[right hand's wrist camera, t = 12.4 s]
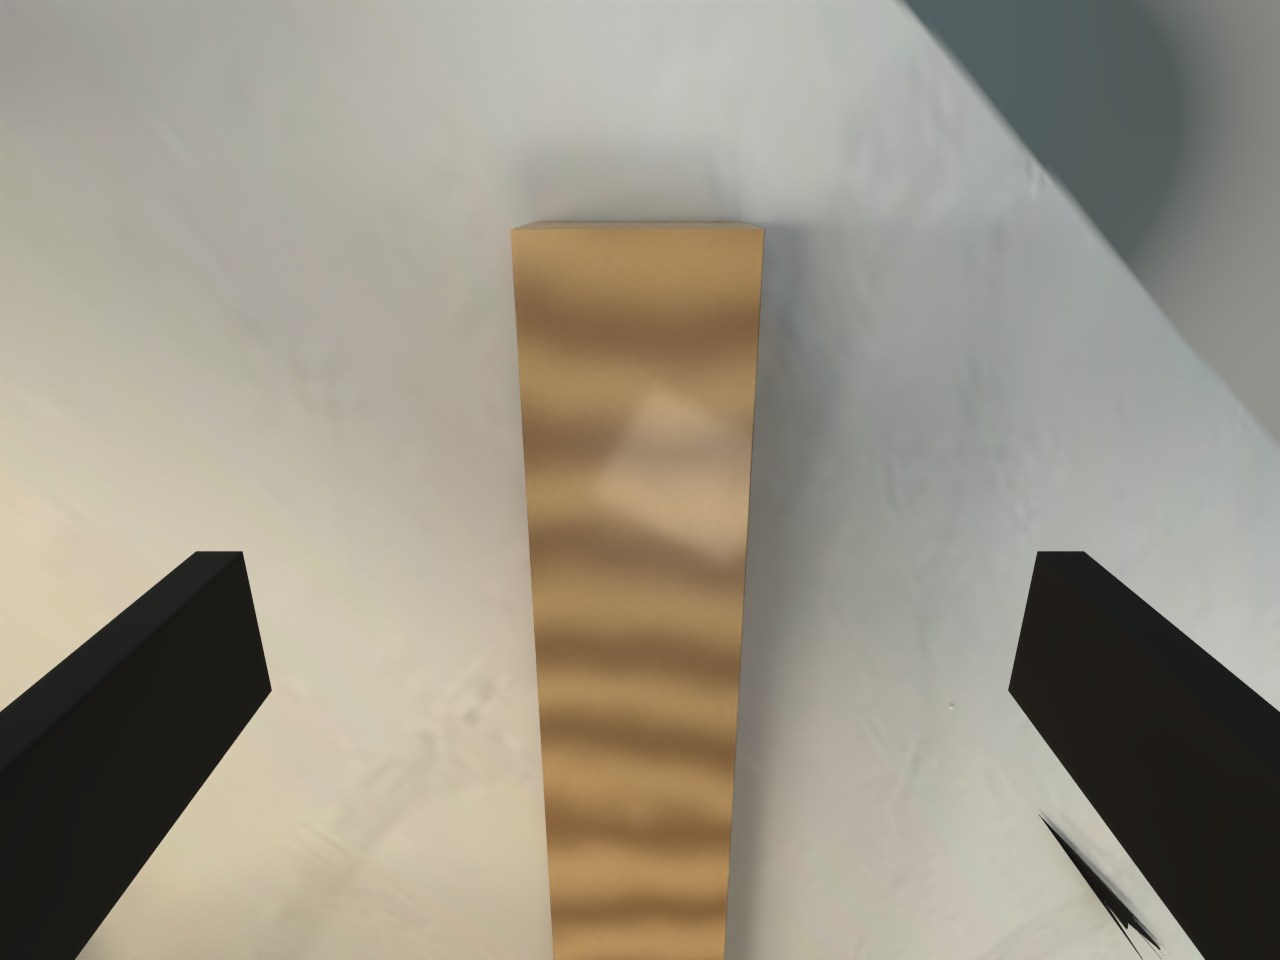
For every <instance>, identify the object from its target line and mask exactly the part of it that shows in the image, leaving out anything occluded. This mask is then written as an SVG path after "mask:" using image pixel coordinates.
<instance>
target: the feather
mask: <svg viewBox="0 0 1280 960" xmlns="http://www.w3.org/2000/svg"><path fill="white" fill-rule="evenodd" d="M950 710H953V707H950ZM1039 816H1040V815H1039ZM1040 817H1041V816H1040ZM1041 818H1042V817H1041ZM1042 820H1043V821H1044V822H1045V824H1046V825H1047V827H1048V828H1049V829H1050V831H1051V832H1052V834H1053V835H1054V836H1055V838H1056V839H1057V841H1058V842H1059V843H1060V845H1061V846H1062V848H1063V849H1064V850H1065V852H1066V853H1067V855H1068V856H1069V857H1070V859H1071V860H1072V862H1073V863H1074V864H1075V866H1076V867H1077V869H1078V870H1079V871H1080V873H1081V874H1082V876H1083V877H1084V878H1085V880H1086V881H1087V883H1088V884H1089V886H1090V887H1091V888H1092V890H1093V891H1094V893H1095V894H1096V895H1097V897H1098V898H1099V900H1100V901H1101V902H1102V904H1103V905H1104V907H1105V908H1106V909H1107V911H1108V912H1109V914H1110V915H1111V916H1112V918H1113V919H1114V921H1115V922H1116V923H1117V925H1118V926H1119V928H1120V929H1121V930H1122V932H1123V933H1124V935H1125V936H1126V937H1127V939H1128V940H1129V942H1130V943H1131V944H1132V942H1131V941H1130V939H1129V938H1128V936H1127V935H1126V933H1125V932H1124V930H1123V929H1122V927H1121V926H1120V924H1119V923H1118V921H1117V920H1116V918H1115V917H1114V915H1113V914H1112V912H1111V911H1113V913H1114V914H1115V915H1116V916H1117V918H1118V919H1119V920H1120V922H1121V923H1122V924H1123V925H1124V927H1125V928H1126V929H1127V928H1128V923H1129V924H1130V925H1131V926H1132V927H1133V928H1135V929H1136V930H1137V931H1138V932H1139V933H1141V934H1142V935H1143V936H1144V937H1145V938H1146V939H1148V940H1149V941H1150V942H1151V943H1152V944H1153V945H1155V946H1156V947H1157V948H1158V949H1159V950H1160V948H1159V947H1158V946H1157V944H1156V943H1155V942H1154V941H1153V940H1152V939H1151V938H1150V937H1149V936H1148V934H1147V933H1146V932H1145V931H1144V930H1143V929H1142V928H1141V927H1140V926H1139V925H1138V923H1137V922H1136V921H1135V919H1136V920H1137V921H1138V922H1139V923H1140V921H1139V920H1138V919H1137V918H1136V917H1135V916H1134V915H1133V914H1132V913H1131V912H1130V910H1128V909H1127V907H1126V906H1124V904H1123V903H1122V902H1121V901H1120V900H1119V899H1118V898H1117V897H1116V896H1115V895H1114V893H1113V892H1112V890H1110V889H1109V888H1108V887H1107V886H1106V885H1105V884H1104V883H1103V882H1102V881H1101V880H1100V878H1099V877H1098V876H1097V875H1096V874H1095V873H1094V872H1093V871H1092V870H1091V868H1089V867H1088V866H1087V864H1086V863H1085V862H1084V861H1083V860H1082V859H1081V858H1080V857H1079V856H1078V855H1077V854H1076V853H1075V852H1074V851H1073V850H1072V849H1071V848H1070V846H1069V845H1068V844H1067V843H1066V842H1065V841H1064V840H1063V839H1062V838H1061V837H1060V836H1059V835H1058V834H1057V833H1056V832H1055V831H1054V830H1053V829H1052V828H1051V827H1050V826H1049V824H1048V823H1047V822H1046V821H1045V820H1044V819H1043V818H1042ZM1108 907H1109V908H1108ZM1110 910H1111V911H1110ZM1134 918H1135V919H1134ZM1140 924H1141V923H1140ZM1141 925H1142V924H1141ZM1142 926H1143V925H1142ZM1143 927H1144V926H1143ZM1144 928H1145V929H1146V930H1147V928H1146V927H1144ZM1147 931H1148V930H1147ZM1148 932H1149V931H1148ZM1149 933H1150V932H1149ZM1150 934H1151V933H1150ZM1142 935H1141V936H1142ZM1151 935H1152V934H1151ZM1143 936H1142V937H1143ZM1152 936H1153V935H1152ZM1154 936H1155V935H1154ZM1154 936H1153V937H1154ZM1144 937H1143V938H1144ZM1145 938H1144V939H1145ZM1154 938H1155V937H1154ZM1147 943H1148V942H1147ZM1148 944H1149V943H1148ZM1149 945H1150V944H1149ZM1132 946H1133V947H1134V945H1133V944H1132ZM1162 946H1163V945H1162ZM1134 949H1135V950H1136V948H1135V947H1134ZM1152 949H1153V948H1152ZM1153 950H1154V949H1153ZM1136 951H1137V950H1136ZM1154 951H1155V950H1154ZM1137 953H1138V951H1137ZM1138 954H1139V953H1138ZM1162 954H1163V953H1162ZM1139 956H1140V954H1139ZM1158 956H1159V955H1158ZM1140 957H1141V956H1140ZM1159 957H1160V956H1159ZM1141 958H1142V957H1141ZM1142 960H1143V959H1142Z"/></svg>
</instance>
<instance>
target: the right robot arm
mask: <svg viewBox="0 0 1280 960" xmlns="http://www.w3.org/2000/svg"><path fill="white" fill-rule="evenodd" d="M271 691H272V689H271V684H270V680H269V675H268V670H267V665H266V661H265V656H264V651H263V646H262V642H261V637H260V632H259V627H258V623H257V618H256V613H255V608H254V604H253V599H252V594H251V589H250V585H249V580H248V575H247V570H246V566H245V561H244V556H243V551H196V552H195V553H194V554H192V555H191V556H190V557H189V558H187V559H186V560H185V561H184V562H183V563H181V564H180V565H179V566H178V567H177V568H175V569H174V570H173V571H172V572H170V573H169V574H168V575H167V576H166V577H164V578H163V579H162V580H161V581H159V582H158V583H157V584H156V585H155V586H153V587H152V588H151V589H150V590H148V591H147V592H146V593H145V594H144V595H142V596H141V597H140V598H139V599H137V600H136V601H135V602H134V603H133V604H131V605H130V606H129V607H128V608H127V609H125V610H124V611H123V612H122V613H120V614H119V615H118V616H117V617H116V618H114V619H113V620H112V621H111V622H109V623H108V624H107V625H106V626H105V627H103V628H102V629H101V630H100V631H98V632H97V633H96V634H95V635H94V636H92V637H91V638H90V639H89V640H88V641H86V642H85V643H84V644H83V645H81V646H80V647H79V648H78V649H77V650H75V651H74V652H73V653H72V654H70V655H69V656H68V657H67V658H66V659H64V660H63V661H62V662H61V663H59V664H58V665H57V666H56V667H55V668H53V669H52V670H51V671H50V672H48V673H47V674H46V675H45V676H44V677H42V678H41V679H40V680H39V681H38V682H36V683H35V684H34V685H33V686H31V687H30V688H29V689H28V690H27V691H25V692H24V693H23V694H22V695H20V696H19V697H18V698H17V699H16V700H14V701H13V702H12V703H11V704H9V705H8V706H7V707H6V708H5V709H3V710H2V711H1V712H0V960H75V959H76V957H77V956H78V955H79V953H80V952H81V950H82V949H83V948H84V946H85V945H86V944H87V942H88V941H89V939H90V938H91V937H92V935H93V934H94V933H95V931H96V930H97V929H98V927H99V926H100V924H101V923H102V922H103V920H104V919H105V918H106V916H107V915H108V914H109V912H110V911H111V909H112V908H113V907H114V905H115V904H116V903H117V901H118V900H119V899H120V897H121V896H122V894H123V893H124V892H125V890H126V889H127V888H128V886H129V885H130V883H131V882H132V881H133V879H134V878H135V877H136V875H137V874H138V873H139V871H140V870H141V868H142V867H143V866H144V864H145V863H146V862H147V860H148V859H149V858H150V856H151V855H152V853H153V852H154V851H155V849H156V848H157V847H158V845H159V844H160V842H161V841H162V840H163V838H164V837H165V836H166V834H167V833H168V832H169V830H170V829H171V827H172V826H173V825H174V823H175V822H176V821H177V819H178V818H179V817H180V815H181V814H182V812H183V811H184V810H185V808H186V807H187V806H188V804H189V803H190V802H191V800H192V799H193V797H194V796H195V795H196V793H197V792H198V791H199V789H200V788H201V786H202V785H203V784H204V782H205V781H206V780H207V778H208V777H209V776H210V774H211V773H212V771H213V770H214V769H215V767H216V766H217V765H218V763H219V762H220V761H221V759H222V758H223V756H224V755H225V754H226V752H227V751H228V750H229V748H230V747H231V745H232V744H233V743H234V741H235V740H236V739H237V737H238V736H239V735H240V733H241V732H242V730H243V729H244V728H245V726H246V725H247V724H248V722H249V721H250V720H251V718H252V717H253V715H254V714H255V713H256V711H257V710H258V709H259V707H260V706H261V705H262V703H263V702H264V700H265V699H266V698H267V696H268V695H269V694H270V692H271ZM1008 691H1009V692H1010V694H1011V695H1012V696H1013V698H1014V699H1015V700H1016V702H1017V703H1018V705H1019V706H1020V707H1021V709H1022V710H1023V711H1024V713H1025V714H1026V715H1027V717H1028V718H1029V720H1030V721H1031V722H1032V724H1033V725H1034V726H1035V728H1036V729H1037V730H1038V732H1039V733H1040V735H1041V736H1042V737H1043V739H1044V740H1045V741H1046V743H1047V744H1048V745H1049V747H1050V748H1051V750H1052V751H1053V752H1054V754H1055V755H1056V756H1057V758H1058V759H1059V761H1060V762H1061V763H1062V765H1063V766H1064V767H1065V769H1066V770H1067V771H1068V773H1069V774H1070V776H1071V777H1072V778H1073V780H1074V781H1075V782H1076V784H1077V785H1078V786H1079V788H1080V789H1081V791H1082V792H1083V793H1084V795H1085V796H1086V797H1087V799H1088V800H1089V802H1090V803H1091V804H1092V806H1093V807H1094V808H1095V810H1096V811H1097V812H1098V814H1099V815H1100V817H1101V818H1102V819H1103V821H1104V822H1105V823H1106V825H1107V826H1108V827H1109V829H1110V830H1111V832H1112V833H1113V834H1114V836H1115V837H1116V838H1117V840H1118V841H1119V842H1120V844H1121V845H1122V847H1123V848H1124V849H1125V851H1126V852H1127V853H1128V855H1129V856H1130V858H1131V859H1132V860H1133V862H1134V863H1135V864H1136V866H1137V867H1138V868H1139V870H1140V871H1141V873H1142V874H1143V875H1144V877H1145V878H1146V879H1147V881H1148V882H1149V883H1150V885H1151V886H1152V888H1153V889H1154V890H1155V892H1156V893H1157V894H1158V896H1159V897H1160V899H1161V900H1162V901H1163V903H1164V904H1165V905H1166V907H1167V908H1168V909H1169V911H1170V912H1171V914H1172V915H1173V916H1174V918H1175V919H1176V920H1177V922H1178V923H1179V924H1180V926H1181V927H1182V929H1183V930H1184V931H1185V933H1186V934H1187V935H1188V937H1189V938H1190V939H1191V941H1192V942H1193V944H1194V945H1195V946H1196V948H1197V949H1198V950H1199V952H1200V953H1201V955H1202V956H1203V957H1204V959H1205V960H1280V712H1279V711H1278V710H1277V709H1275V708H1274V707H1273V706H1272V705H1271V704H1269V703H1268V702H1267V701H1266V700H1264V699H1263V698H1262V697H1261V696H1260V695H1258V694H1257V693H1256V692H1255V691H1253V690H1252V689H1251V688H1250V687H1249V686H1247V685H1246V684H1245V683H1244V682H1242V681H1241V680H1240V679H1239V678H1238V677H1236V676H1235V675H1234V674H1233V673H1232V672H1230V671H1229V670H1228V669H1227V668H1225V667H1224V666H1223V665H1222V664H1221V663H1219V662H1218V661H1217V660H1216V659H1214V658H1213V657H1212V656H1211V655H1210V654H1208V653H1207V652H1206V651H1205V650H1203V649H1202V648H1201V647H1200V646H1199V645H1197V644H1196V643H1195V642H1194V641H1193V640H1191V639H1190V638H1189V637H1188V636H1186V635H1185V634H1184V633H1183V632H1182V631H1180V630H1179V629H1178V628H1177V627H1175V626H1174V625H1173V624H1172V623H1171V622H1169V621H1168V620H1167V619H1166V618H1164V617H1163V616H1162V615H1161V614H1160V613H1158V612H1157V611H1156V610H1155V609H1153V608H1152V607H1151V606H1150V605H1149V604H1147V603H1146V602H1145V601H1144V600H1143V599H1141V598H1140V597H1139V596H1138V595H1136V594H1135V593H1134V592H1133V591H1132V590H1130V589H1129V588H1128V587H1127V586H1125V585H1124V584H1123V583H1122V582H1121V581H1119V580H1118V579H1117V578H1116V577H1114V576H1113V575H1112V574H1111V573H1110V572H1108V571H1107V570H1106V569H1105V568H1103V567H1102V566H1101V565H1100V564H1099V563H1097V562H1096V561H1095V560H1094V559H1093V558H1091V557H1090V556H1089V555H1088V554H1086V553H1085V552H1084V551H1037V556H1036V561H1035V566H1034V570H1033V575H1032V580H1031V585H1030V589H1029V594H1028V599H1027V604H1026V608H1025V613H1024V618H1023V623H1022V627H1021V632H1020V637H1019V642H1018V646H1017V651H1016V656H1015V661H1014V665H1013V670H1012V675H1011V680H1010V684H1009V689H1008Z"/></svg>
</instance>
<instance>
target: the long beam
mask: <svg viewBox="0 0 1280 960" xmlns="http://www.w3.org/2000/svg"><path fill="white" fill-rule="evenodd" d="M511 243H512V260H513V277H514V294H515V311H516V328H517V344H518V361H519V378H520V395H521V412H522V429H523V446H524V463H525V480H526V497H527V513H528V530H529V547H530V564H531V581H532V598H533V615H534V632H535V649H536V666H537V683H538V699H539V716H540V733H541V750H542V767H543V784H544V801H545V818H546V835H547V852H548V868H549V885H550V902H551V919H552V936H553V953H554V960H724V952H725V934H726V916H727V898H728V880H729V862H730V844H731V825H732V807H733V789H734V771H735V753H736V735H737V717H738V699H739V681H740V663H741V645H742V627H743V609H744V591H745V573H746V555H747V537H748V519H749V501H750V483H751V465H752V447H753V428H754V410H755V392H756V374H757V356H758V338H759V320H760V302H761V284H762V266H763V248H764V229H762V228H759V227H756V226H753V225H750V224H747V223H744V222H533V223H530V224H527V225H523V226H520V227H517V228H514V229H511Z"/></svg>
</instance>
